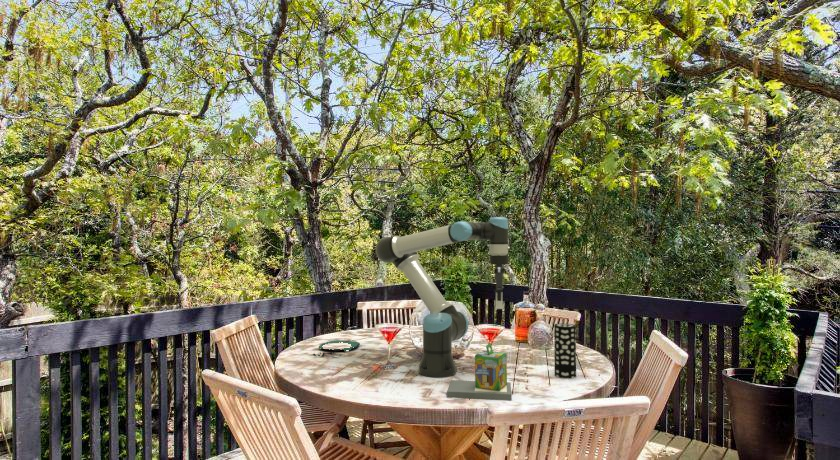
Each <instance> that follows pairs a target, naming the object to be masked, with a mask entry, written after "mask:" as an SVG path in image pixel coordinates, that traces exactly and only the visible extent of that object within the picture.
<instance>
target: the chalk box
mask: <svg viewBox="0 0 840 460" xmlns="http://www.w3.org/2000/svg"><path fill="white" fill-rule="evenodd" d="M485 347H486V350H482V351H479V352H478V353H477V354H475V355H474V372H475V374H474V376H475V378H474V381H475V387H476V388H483V389H491V390H498V391H499V390H500V389H502V388H503V387H504V386H506V385H507V382H508V367H507V365H508V361H507V358H508V357H507V355H508V354H507V353H506V352H499V351H494V349H493V347H492V343H488V344H486V345H485ZM489 349H490V350H489Z"/></svg>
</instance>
